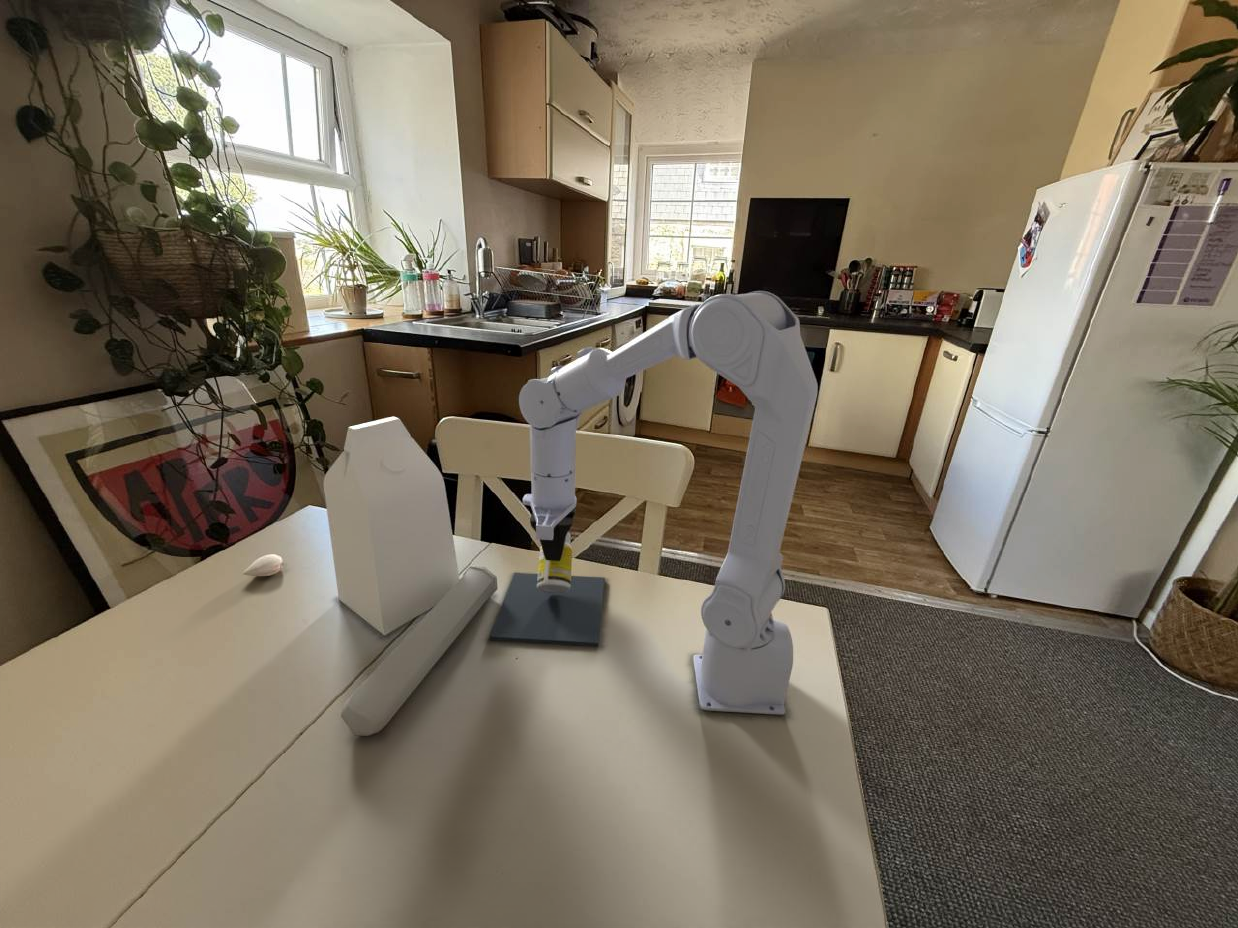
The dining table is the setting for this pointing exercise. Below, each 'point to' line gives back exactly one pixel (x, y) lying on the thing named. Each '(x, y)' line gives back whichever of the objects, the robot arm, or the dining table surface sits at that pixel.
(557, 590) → the supplement bottle
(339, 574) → the milk
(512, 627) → the mat
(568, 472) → the robot arm
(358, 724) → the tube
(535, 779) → the dining table surface
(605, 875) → the dining table surface
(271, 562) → the white garlic clove
